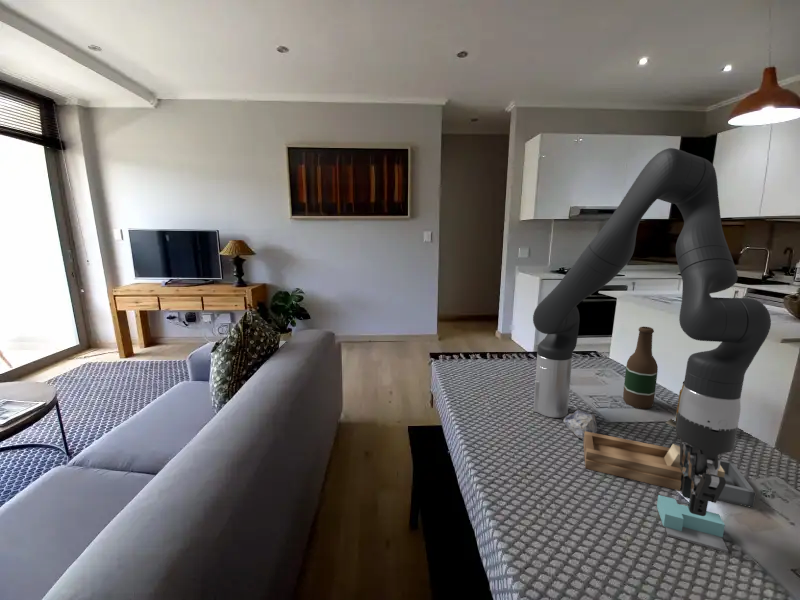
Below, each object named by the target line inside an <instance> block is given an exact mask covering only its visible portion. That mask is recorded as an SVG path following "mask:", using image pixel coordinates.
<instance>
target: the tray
mask: <svg viewBox="0 0 800 600" xmlns="http://www.w3.org/2000/svg"><path fill="white" fill-rule="evenodd" d="M719 459H720V458H719ZM720 465H721V467H722V468H723V470H724V471H725V475H724V478H725V481H726V484H725V486H724V488H723V490H722V492H721V494H720V496H719V498H718V500H717V501H722V502H726V503H731V504H736V505H738V504H742V505H741V506H743V505H746V506H745V507H747V506H750V507H749V508H751V507H753V508H754V505H755V499H756V492H755V490H754V488H753V487H752V486H751V485H750V483H749V482H748V481H747V479H746V478H745V476H744V475H743V473H742V472H741V471H740V469H739V468H738V467H737V465H736V464H735V462H734V461H731V460H726V459H720ZM684 477H685V476H683V475H681V487H680V490H682V485H683V478H684Z"/></svg>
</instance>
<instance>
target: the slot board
mask: <svg viewBox="0 0 800 600" xmlns="http://www.w3.org/2000/svg"><path fill="white" fill-rule="evenodd" d="M596 433H597V432H596ZM596 433H591V432H586V431H585V433H584V441H583V444H582V445H583V446H582V447H583V456H584V457H583V458H584V468H585V469H587V470H590V471H595V472H600V473H602V474H608V475H610V476H611V475H612V476H615V477H616V476H617V477H620V478H625V479H628V480H629V479H630V480H632V481H638V482H642V483H646V484H650V485H653V486H659V487H662V488H667V489H671V490H676V491H681V474H682V472H681V470H680V468H677V467H672V466H668V465H667V464H666V461H665V459H664V457H665V455H666V454H667V452H668V451H669V449H670V448H671V447H666V446H661V445H657V444H653V443H646V442H641V441H637V440H631V439H626V438H621V437H616V436H611V435H607V434H606V435H605V434H600V433H597V434H596Z"/></svg>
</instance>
